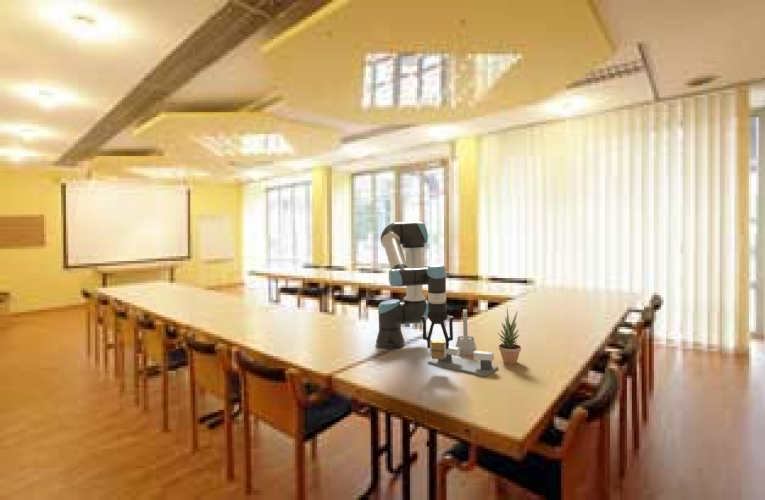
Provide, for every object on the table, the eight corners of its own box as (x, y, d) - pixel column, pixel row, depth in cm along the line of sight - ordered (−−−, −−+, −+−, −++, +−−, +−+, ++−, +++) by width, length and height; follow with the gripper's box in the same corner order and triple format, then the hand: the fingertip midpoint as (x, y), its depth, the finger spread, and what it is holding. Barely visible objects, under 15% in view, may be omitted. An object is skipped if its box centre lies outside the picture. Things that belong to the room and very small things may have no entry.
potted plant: (521, 359, 187) (520, 305, 185) (521, 366, 178) (520, 309, 176) (498, 357, 190) (497, 305, 188) (497, 364, 181) (496, 309, 180)
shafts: (435, 351, 188) (435, 345, 188) (442, 348, 192) (442, 342, 192) (489, 363, 170) (489, 356, 170) (496, 359, 174) (495, 352, 174)
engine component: (455, 354, 198) (476, 354, 196) (454, 312, 197) (475, 312, 195) (455, 347, 208) (476, 348, 206) (454, 307, 207) (475, 307, 205)
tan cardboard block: (431, 358, 173) (431, 342, 172) (432, 354, 178) (432, 338, 177) (444, 359, 171) (443, 342, 171) (444, 355, 177) (444, 339, 176)
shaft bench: (428, 363, 185) (428, 353, 185) (443, 356, 194) (442, 347, 194) (484, 377, 167) (484, 366, 166) (498, 368, 176) (497, 358, 175)
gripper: (414, 303, 171) (415, 358, 173) (458, 304, 167) (459, 359, 169) (416, 299, 178) (418, 352, 180) (459, 300, 174) (460, 353, 176)
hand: (438, 355), depth 175 cm, fingers closed on tan cardboard block, 5 cm apart
